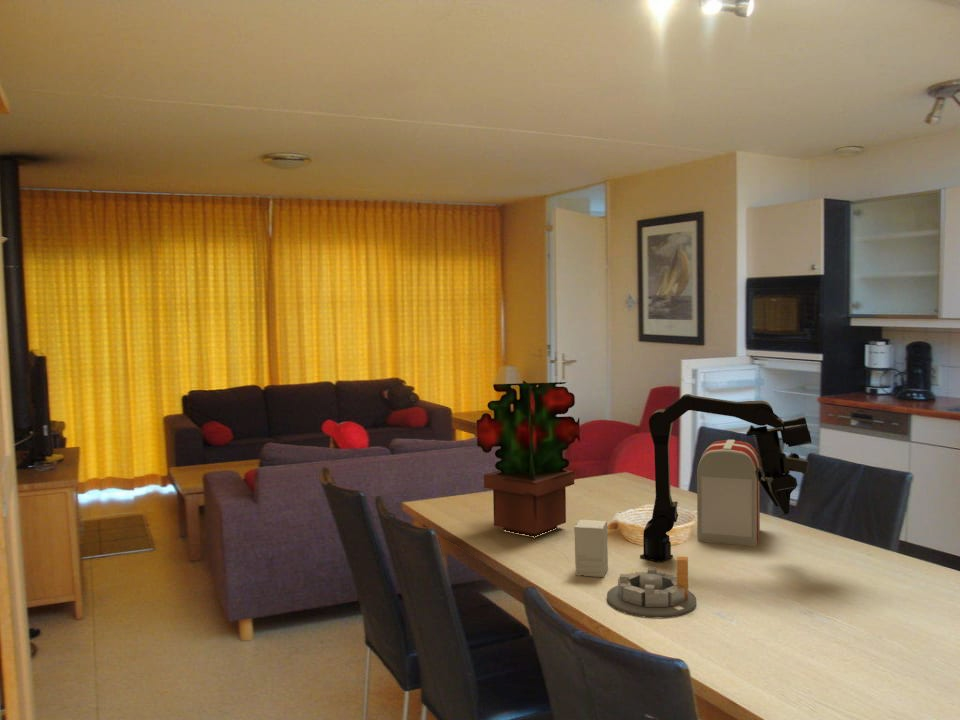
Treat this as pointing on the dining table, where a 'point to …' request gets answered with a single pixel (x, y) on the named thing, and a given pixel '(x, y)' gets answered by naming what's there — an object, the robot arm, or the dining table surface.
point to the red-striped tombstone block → (728, 494)
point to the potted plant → (529, 455)
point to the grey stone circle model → (637, 610)
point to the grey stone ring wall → (671, 587)
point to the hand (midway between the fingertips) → (782, 510)
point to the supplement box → (591, 548)
